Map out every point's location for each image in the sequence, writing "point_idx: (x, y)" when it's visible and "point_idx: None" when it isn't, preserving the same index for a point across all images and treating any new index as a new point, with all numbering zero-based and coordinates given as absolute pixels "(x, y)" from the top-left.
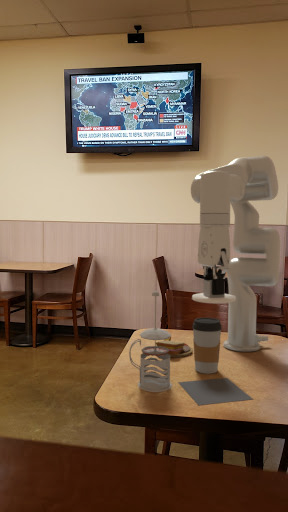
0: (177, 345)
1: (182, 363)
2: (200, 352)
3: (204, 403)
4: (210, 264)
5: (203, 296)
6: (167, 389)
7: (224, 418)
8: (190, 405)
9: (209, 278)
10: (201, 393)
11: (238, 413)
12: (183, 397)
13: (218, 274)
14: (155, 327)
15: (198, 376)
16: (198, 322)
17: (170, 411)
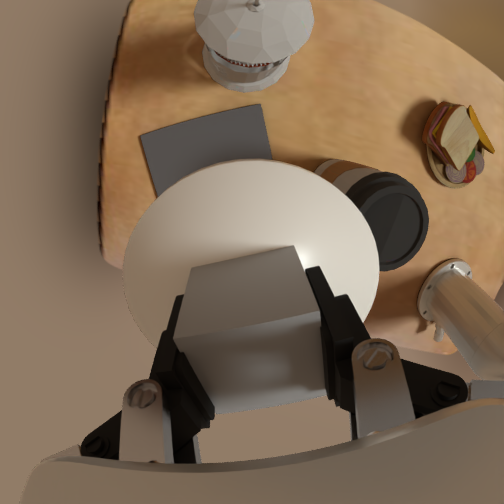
0: (439, 145)
1: (388, 142)
2: (330, 175)
3: (147, 148)
4: (52, 468)
5: (248, 238)
6: (216, 76)
7: (105, 178)
8: (149, 120)
9: (326, 361)
10: (195, 147)
11: (124, 204)
12: (186, 108)
13: (113, 425)
14: (255, 3)
15: (306, 158)
16: (373, 193)
17: (125, 84)
